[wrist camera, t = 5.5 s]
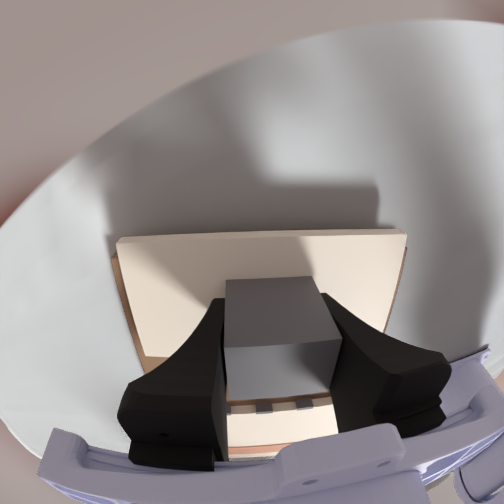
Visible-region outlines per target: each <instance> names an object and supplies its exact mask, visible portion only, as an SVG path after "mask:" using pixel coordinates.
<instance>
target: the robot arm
mask: <svg viewBox="0 0 504 504" xmlns="http://www.w3.org/2000/svg"><path fill="white" fill-rule="evenodd" d="M320 294H321V296H322V298H323V300H324V302H325V304H326V306H327V308H328V310H329V312H330V314H331V316H332V318H333V320H334V322H335V324H336V326H337V328H338V330H339V332H340V334H341V337H342V342H341V346H340V350H339V354H338V358H337V362H336V366H335V370H334V373H333V377H332V380H331V384H330V387H329V390H330V394H331V398H332V403H333V407H334V412H335V417H336V422H337V428H338V434H334V435H329V436H323V437H317V438H311V439H307V440H303V441H299V442H294V443H292V444H290V445H288V446H286V447H284V448H282V449H281V450H280V451H279V453H278V454H277V455H276V456H275V459H271V460H258V461H236V462H229V455H228V433H227V400H226V395H227V372H226V363H225V353H224V321H225V298H214V299H213V300H212V301H211V304H210V306H209V308H208V309H207V311H206V313H205V315H204V316H203V318H202V319H201V321H200V323H199V324H198V326H197V327H196V328H195V330H194V331H193V332H192V334H191V335H190V336H189V337H188V339H187V340H186V341H185V342H184V343H183V344H182V345H181V346H180V348H179V349H178V350H177V351H175V352H174V353H173V354H172V355H171V356H170V357H169V358H168V359H167V360H165V361H164V362H163V363H162V364H160V365H159V366H158V367H156V368H155V369H153V370H152V371H150V372H149V373H147V374H145V375H143V376H142V377H140V378H138V379H136V380H134V381H132V382H130V383H129V384H128V386H127V388H126V390H125V392H124V395H123V397H122V400H121V403H120V406H119V410H118V413H117V419H118V421H119V423H120V425H121V426H122V428H123V429H124V431H125V432H126V433H127V435H128V436H129V438H130V439H131V445H130V450H129V454H127V453H121V452H116V451H111V450H106V449H102V448H98V447H93V446H89V445H88V444H87V442H86V441H85V440H84V439H83V438H82V437H81V436H79V435H77V434H74V433H71V432H67V431H64V430H61V429H58V428H53V431H52V433H51V436H50V438H49V441H48V444H47V446H46V449H45V452H44V455H43V458H42V461H41V464H40V467H39V470H38V473H37V475H38V476H39V477H40V478H41V479H43V480H44V481H45V482H47V483H48V484H50V485H51V486H53V487H54V488H55V489H57V490H59V491H60V492H62V493H63V494H65V495H66V496H68V497H70V498H72V499H74V500H77V501H80V502H83V503H86V504H431V502H430V499H429V497H428V494H427V492H426V489H425V487H424V486H425V485H427V484H429V483H431V482H432V481H434V480H436V479H438V478H440V477H441V476H443V475H445V474H447V473H448V472H450V471H452V470H453V469H455V470H454V474H453V482H454V486H455V489H456V492H457V494H458V496H459V497H460V499H461V500H462V501H463V502H464V503H465V504H504V489H502V490H501V491H500V492H498V493H496V494H494V495H490V494H492V493H493V492H495V491H496V490H497V489H498V488H500V487H501V486H503V485H504V393H503V392H502V391H501V389H500V388H499V387H498V385H497V384H496V382H495V381H494V379H493V378H492V377H491V375H490V374H489V373H488V372H487V370H486V369H485V368H484V366H483V364H484V362H485V361H486V359H487V357H488V355H489V354H490V352H491V350H490V349H489V348H488V349H486V350H483V351H481V352H479V353H476V354H474V355H471V356H469V357H466V358H464V359H461V360H458V361H456V362H453V363H450V364H449V362H448V361H447V360H446V358H445V357H444V356H443V354H442V353H440V352H435V351H431V350H426V349H422V348H419V347H416V346H413V345H410V344H407V343H404V342H402V341H399V340H397V339H395V338H392V337H390V336H388V335H386V334H384V333H382V332H380V331H379V330H377V329H375V328H373V327H372V326H370V325H368V324H367V323H365V322H364V321H362V320H361V319H359V318H358V317H357V316H355V315H354V314H352V313H351V312H350V311H349V310H347V309H346V308H345V307H343V306H342V305H341V304H340V303H338V302H337V301H336V300H335V299H333V298H332V297H331V296H330V295H328V294H327V293H320Z"/></svg>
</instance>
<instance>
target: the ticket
mask: <svg viewBox="0 0 504 504" xmlns="http://www.w3.org/2000/svg"><path fill="white" fill-rule="evenodd" d="M227 433H228V455H229V458H249V457H265V456H276V455H277V454H278V453H279V451H280V450H281V449H282V448H284V447H286V446H288V445H290V444H292V443H294V442H299V441H303V440H307V439H311V438H317V437H323V436H329V435H334V434H338V428H337V422H336V417H335V412H334V407H333V403H332V398H331V397H325V398H318V399H312V398H311V397H310V398H302V399H296V400H295V402H285V403H275V404H272V402H259V403H255V405H243V406H231V404H227Z"/></svg>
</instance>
